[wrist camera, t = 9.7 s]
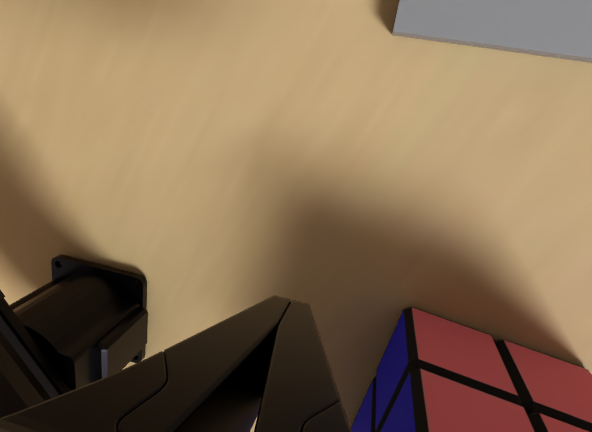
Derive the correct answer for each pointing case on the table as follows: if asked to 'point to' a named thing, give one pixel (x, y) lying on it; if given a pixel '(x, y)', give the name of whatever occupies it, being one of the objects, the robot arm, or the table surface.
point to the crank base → (502, 25)
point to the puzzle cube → (470, 384)
